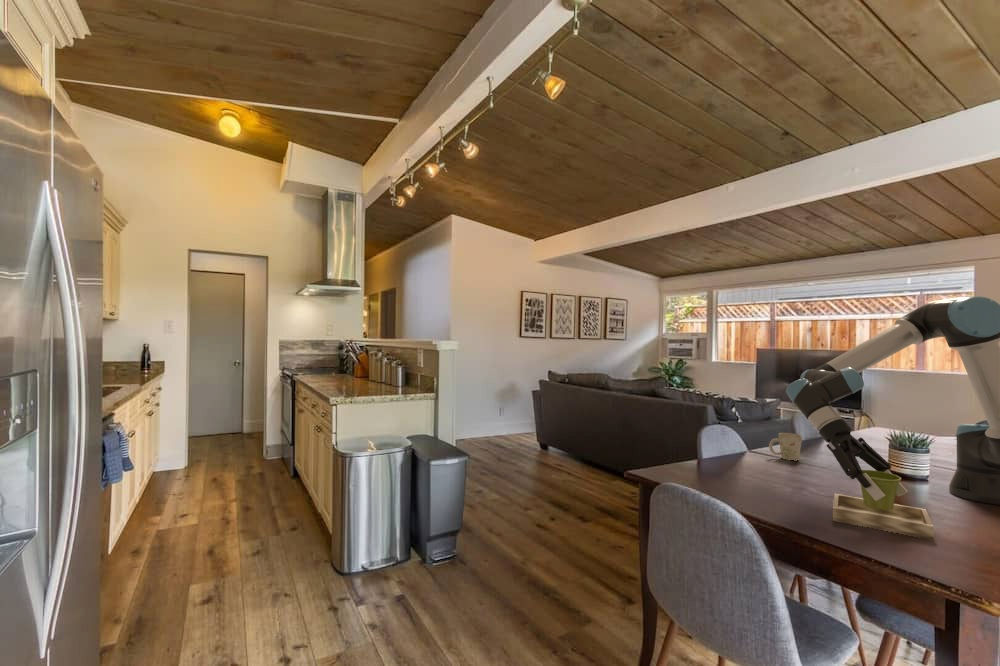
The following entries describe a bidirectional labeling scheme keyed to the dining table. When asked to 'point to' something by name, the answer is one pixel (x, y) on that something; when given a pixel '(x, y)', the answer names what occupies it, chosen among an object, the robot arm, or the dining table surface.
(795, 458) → the mug
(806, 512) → the dining table surface
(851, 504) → the tray
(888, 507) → the plant pot
